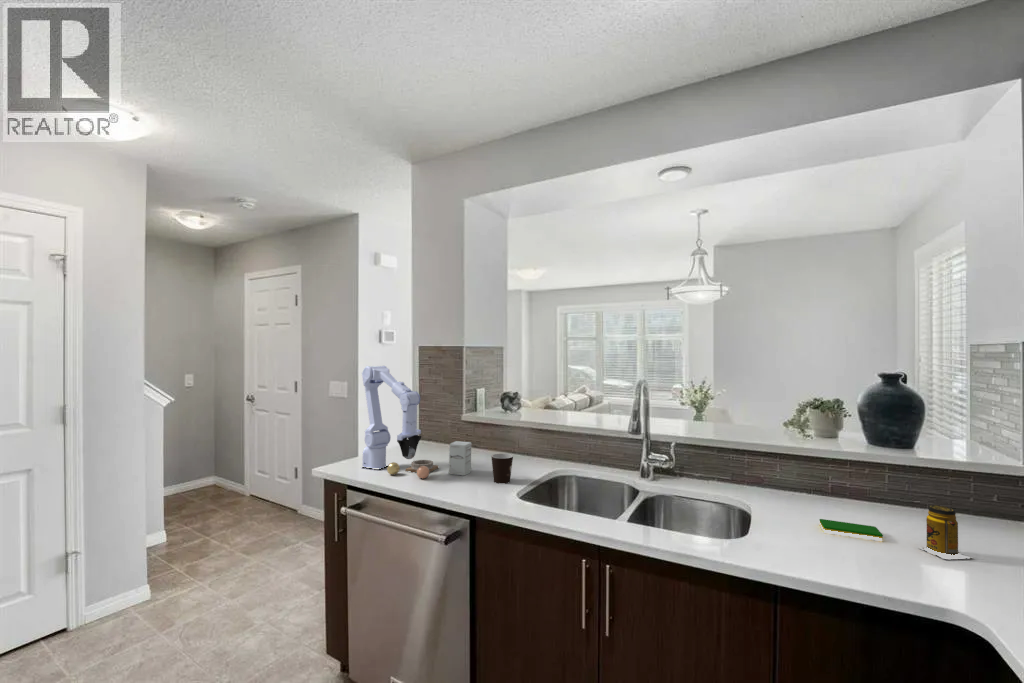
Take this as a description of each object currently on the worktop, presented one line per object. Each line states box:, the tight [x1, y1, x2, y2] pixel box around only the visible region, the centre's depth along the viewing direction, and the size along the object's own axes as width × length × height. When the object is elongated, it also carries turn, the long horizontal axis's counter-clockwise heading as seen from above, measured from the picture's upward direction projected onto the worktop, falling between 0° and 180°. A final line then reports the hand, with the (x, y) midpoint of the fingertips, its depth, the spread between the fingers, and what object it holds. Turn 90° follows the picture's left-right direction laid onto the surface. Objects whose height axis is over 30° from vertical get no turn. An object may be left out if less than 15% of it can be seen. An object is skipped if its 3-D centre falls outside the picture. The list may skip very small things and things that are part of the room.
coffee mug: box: [490, 453, 514, 484], centre depth 181 cm, size 12×9×10 cm
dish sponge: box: [819, 518, 884, 539], centre depth 132 cm, size 7×14×2 cm, turn 65°
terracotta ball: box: [416, 466, 430, 480], centre depth 182 cm, size 5×5×5 cm
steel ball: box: [403, 446, 416, 460], centre depth 185 cm, size 5×5×5 cm
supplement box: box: [448, 440, 473, 476], centre depth 191 cm, size 7×7×13 cm
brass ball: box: [386, 461, 401, 476], centre depth 187 cm, size 5×5×5 cm
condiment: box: [925, 504, 959, 555], centre depth 119 cm, size 7×8×12 cm
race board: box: [405, 459, 439, 473], centre depth 195 cm, size 10×10×3 cm
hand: (409, 455), depth 185 cm, fingers closed on steel ball, 5 cm apart
